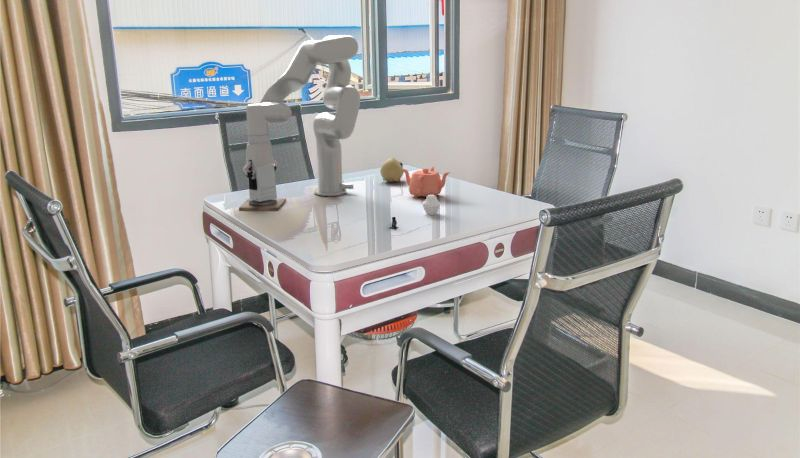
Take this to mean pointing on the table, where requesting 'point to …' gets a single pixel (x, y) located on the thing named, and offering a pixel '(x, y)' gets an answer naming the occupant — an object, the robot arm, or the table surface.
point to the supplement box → (264, 184)
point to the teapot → (425, 182)
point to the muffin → (431, 205)
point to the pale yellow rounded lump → (392, 170)
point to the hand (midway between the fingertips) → (262, 187)
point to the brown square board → (263, 205)
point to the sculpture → (393, 224)
